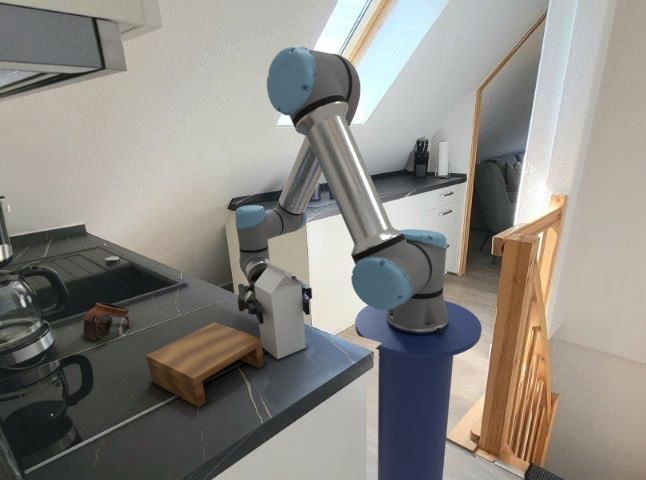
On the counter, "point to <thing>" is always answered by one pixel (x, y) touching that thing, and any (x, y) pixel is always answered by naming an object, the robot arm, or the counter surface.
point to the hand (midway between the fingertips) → (284, 313)
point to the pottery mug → (102, 319)
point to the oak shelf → (201, 359)
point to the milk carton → (280, 312)
